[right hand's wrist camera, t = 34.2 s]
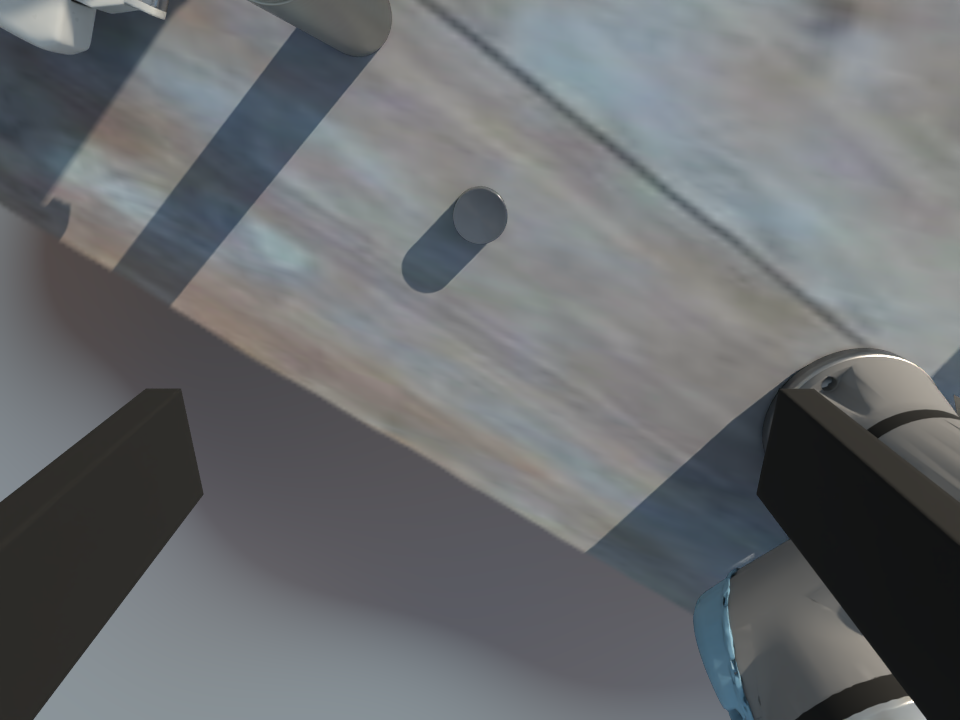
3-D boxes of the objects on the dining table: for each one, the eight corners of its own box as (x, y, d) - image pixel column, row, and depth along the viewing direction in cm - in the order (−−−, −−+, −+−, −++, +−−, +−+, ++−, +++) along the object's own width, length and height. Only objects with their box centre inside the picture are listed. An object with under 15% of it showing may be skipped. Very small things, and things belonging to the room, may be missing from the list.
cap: (443, 221, 48) (442, 224, 46) (472, 175, 46) (471, 177, 44) (487, 250, 48) (488, 254, 47) (516, 205, 47) (518, 208, 45)
